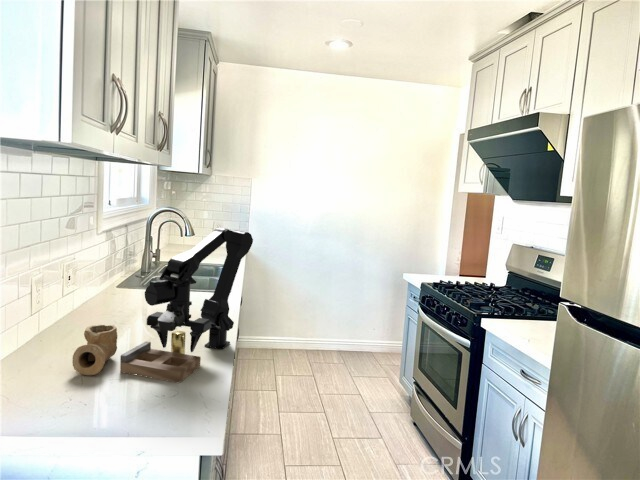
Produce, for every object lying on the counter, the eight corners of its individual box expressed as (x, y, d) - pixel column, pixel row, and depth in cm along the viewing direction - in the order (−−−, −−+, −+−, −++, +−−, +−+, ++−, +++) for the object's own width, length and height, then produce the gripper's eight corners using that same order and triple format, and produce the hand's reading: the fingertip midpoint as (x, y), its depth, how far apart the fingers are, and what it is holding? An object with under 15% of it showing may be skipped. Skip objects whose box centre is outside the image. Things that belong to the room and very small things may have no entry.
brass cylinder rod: (175, 355, 145) (176, 330, 144) (187, 357, 144) (187, 332, 143) (168, 359, 141) (169, 334, 140) (180, 361, 141) (181, 336, 140)
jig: (145, 357, 142) (145, 341, 141) (200, 366, 138) (200, 350, 137) (120, 372, 130) (120, 355, 130) (179, 383, 126) (179, 365, 126)
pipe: (68, 377, 125) (69, 341, 124) (89, 354, 141) (90, 322, 140) (104, 377, 127) (105, 341, 125) (121, 355, 143) (122, 323, 141)
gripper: (135, 301, 135) (134, 354, 137) (195, 310, 131) (193, 364, 133) (157, 293, 146) (156, 341, 148) (213, 301, 142) (211, 350, 144)
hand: (178, 349), depth 143 cm, fingers open, 9 cm apart
